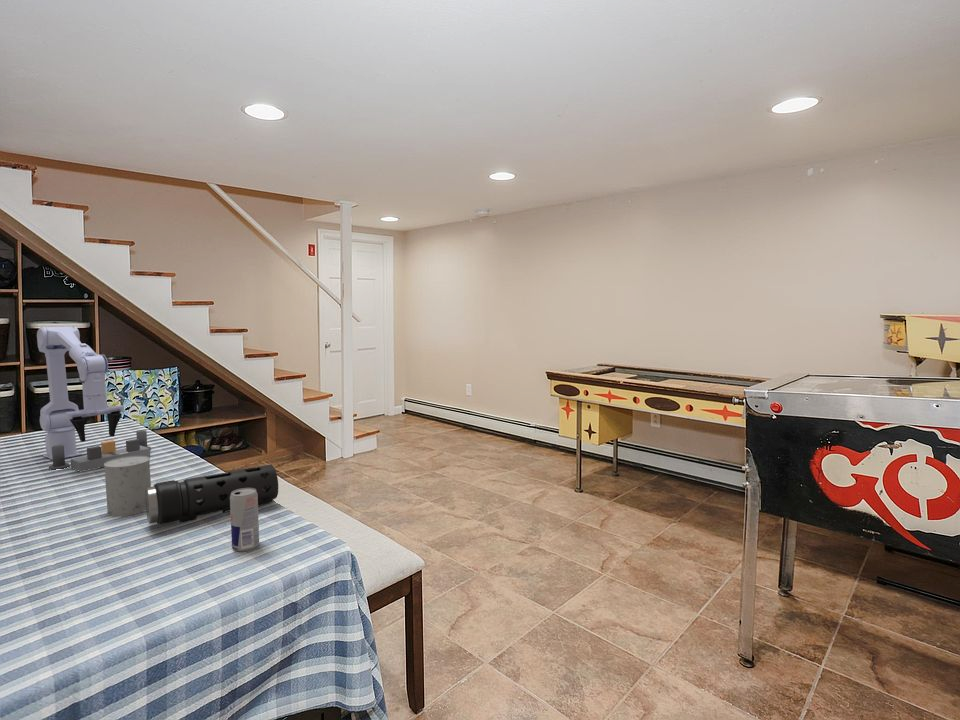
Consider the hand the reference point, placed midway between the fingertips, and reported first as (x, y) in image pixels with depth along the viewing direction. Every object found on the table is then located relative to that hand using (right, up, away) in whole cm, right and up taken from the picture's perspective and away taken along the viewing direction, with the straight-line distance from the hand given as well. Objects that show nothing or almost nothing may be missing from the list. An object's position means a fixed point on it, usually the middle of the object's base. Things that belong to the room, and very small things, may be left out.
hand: (97, 438), depth 162 cm
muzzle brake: (+53, -14, -32) cm, 63 cm away
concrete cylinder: (+30, -14, -29) cm, 44 cm away
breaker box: (-2, -9, +9) cm, 13 cm away
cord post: (-1, -8, +23) cm, 24 cm away
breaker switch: (-3, -6, +10) cm, 12 cm away
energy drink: (+68, -16, -49) cm, 85 cm away
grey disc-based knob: (-14, -10, +3) cm, 17 cm away
